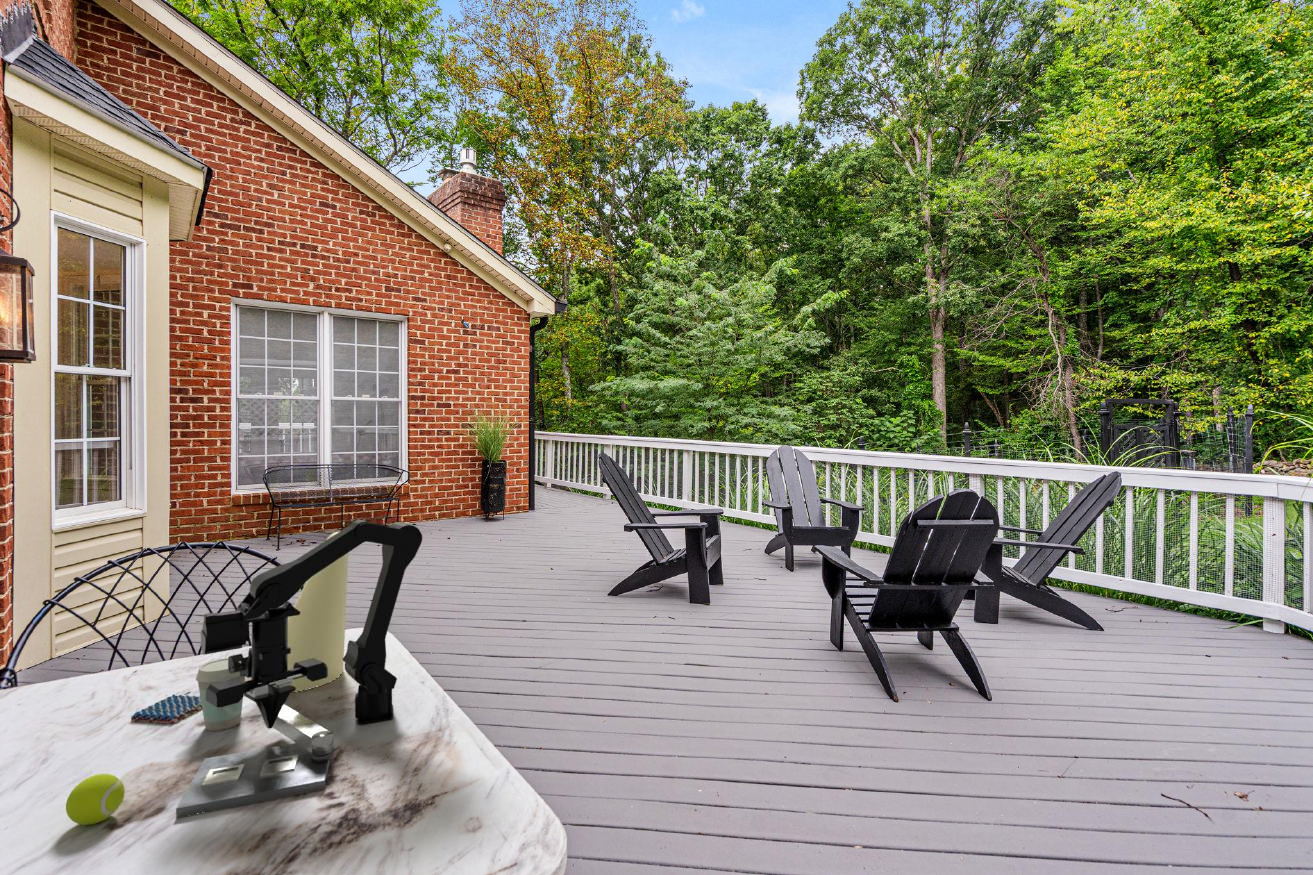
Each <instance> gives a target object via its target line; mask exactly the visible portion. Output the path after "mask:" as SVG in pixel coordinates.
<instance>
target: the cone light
mask: <svg viewBox="0 0 1313 875" xmlns="http://www.w3.org/2000/svg"><path fill="white" fill-rule="evenodd" d="M339 532H340V531H337V532H333V533H331V534H329V535H328V537H327V539H326V540H328V539H329V538H331V537H332V536H334V535H335V534H337V533H339ZM348 568H349V552H348V553H347V554H345V555H344V556H342V557H341V558H339V559H338V560H336V561H335V562H333V563H332V564H330V565H329V566H327V567H326V568H324V569H323V570H321V571H320V572H318V573H317V574H315V575H314V576H312V577H311V578H310V579H309V580H308V581H306V583H305V584H304V585H303V588H302V589H301V592H300V593H299V596H298V598H297V600H296V601H295V603H294V605H293V607H294V608H296V609H297V610H299V611H300V615H297V616H290V617H288V647H290V648H291V653H290V654H288V669H289V670H291V669H293V666H294V664H295V663H296V662H299V661H303V660H307V659H311V658H315V659H317V660H319V661H322V662H324V663H325V664H326V665H327V668H328V677H326V678H324V679H320V680H317V681H313V682H312V681H310V680H309V679H307V676H305V677H301V678H298V679H294V680H293V682H292V686H294V687H296V690H295V691H293V692H296V693H299V692H298V691H301V690H306V689H309V688H313V687H316V686H320V685H324V684H325V683H329V682H330V681H333V680H334V679H336V678H338V676H340V674H342V675H343V673H344V663H345V662H344V661H343V660H342V659H343V658H344V656H345V639H346V638H345V637H346V636H345V635H346V616H347V592H348V590H347V589H348V574H349V573H348V570H349V569H348ZM342 672H343V673H342ZM340 677H341V676H340ZM338 679H339V678H338ZM336 680H337V679H336ZM333 682H334V681H333ZM258 684H260V683H258ZM329 684H330V683H329ZM324 686H325V685H324Z"/></svg>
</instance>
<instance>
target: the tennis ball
mask: <svg viewBox="0 0 1313 875" xmlns="http://www.w3.org/2000/svg"><path fill="white" fill-rule="evenodd" d="M124 798H125V786H124V783H123V782H122V780H121V779H119V778H118V777H117V776H116V775H113V774H111V773H110V774H109V773H99V774H98V773H97V774H95V775H91V776H89V777H87V778H86V779H83V780H82V781H80V782H79V783H78V784H77V785H76V786H75V787H74V788H73V789H72V790H71V791H70V793H69V796H68V797H67V800H66V804H65V811H66V814H67V816H68V818H69V819H70V820H71V821H73V823H76V824H78V825H82V826H89V825H95V824H98V823H101V822H103V821H105V820H106V819H109V818H110V817H112V815H113V814H114V813H115V812H116V811H117V810H118V809H119V808H120V806H121V804H122V803H123V800H124Z"/></svg>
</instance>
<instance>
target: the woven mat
mask: <svg viewBox="0 0 1313 875" xmlns="http://www.w3.org/2000/svg"><path fill="white" fill-rule="evenodd" d="M201 710H202V704H201V698H200V695H199V696H195V695H192V696H190V695H187V694H186V695H182V694H179V695H176V694H174V693H173V694H172V695H171V696H170V695H169V696H167V697H166V698H164V699H161V700H159V701H157V702H155V703H154V704H152V705H148V706H147V707H144V708H143V709H141V710H138V711H136V712H135V713H134V714H133V715H131V717H130V720H131V721H132V722H135V723H136V722H145V723H147V722H148V723H162V724H165V723H166V724H177V723H178V722H179V721H182V720H183V719H186V718H188V717H189V716H191V715H192V714H197V713H198V711H201ZM188 715H189V716H188Z"/></svg>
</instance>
